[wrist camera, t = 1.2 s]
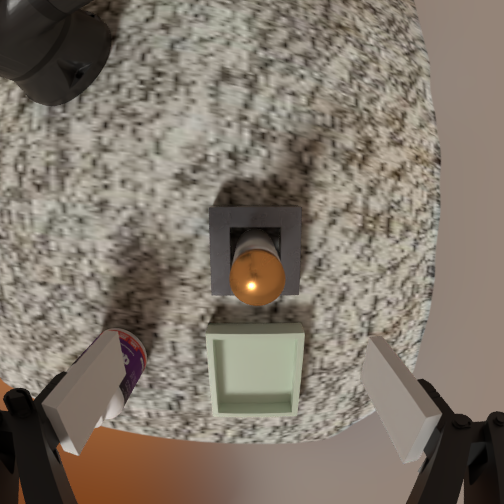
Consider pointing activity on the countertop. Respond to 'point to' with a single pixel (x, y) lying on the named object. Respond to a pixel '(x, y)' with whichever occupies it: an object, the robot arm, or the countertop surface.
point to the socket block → (254, 217)
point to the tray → (255, 368)
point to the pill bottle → (134, 368)
